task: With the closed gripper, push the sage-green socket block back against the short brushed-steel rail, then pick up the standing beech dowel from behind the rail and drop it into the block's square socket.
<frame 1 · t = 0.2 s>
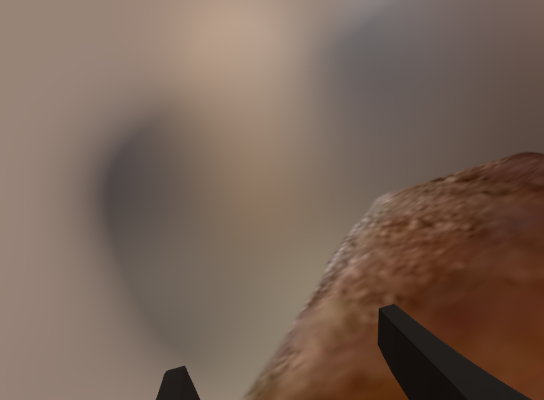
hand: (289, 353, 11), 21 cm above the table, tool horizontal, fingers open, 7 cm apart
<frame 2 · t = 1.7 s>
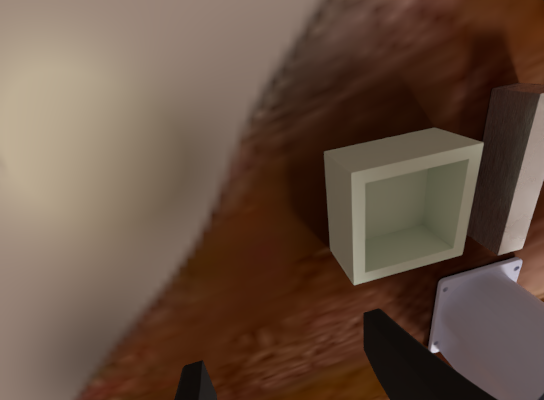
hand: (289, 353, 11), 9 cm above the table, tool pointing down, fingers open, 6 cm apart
rail: (489, 166, 21), on the table
socket block: (377, 191, 20), on the table
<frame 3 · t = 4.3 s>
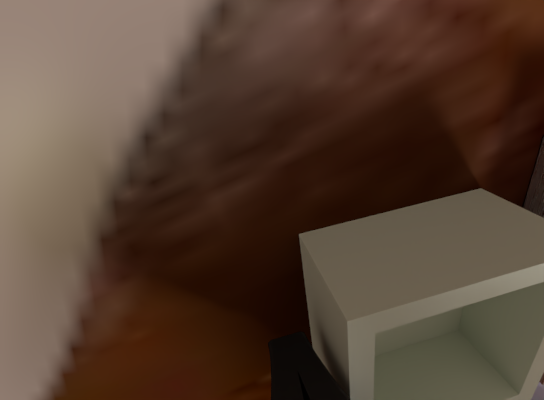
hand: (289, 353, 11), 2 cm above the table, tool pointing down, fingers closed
rail: (529, 246, 14), on the table
socket block: (389, 284, 13), on the table, touching gripper
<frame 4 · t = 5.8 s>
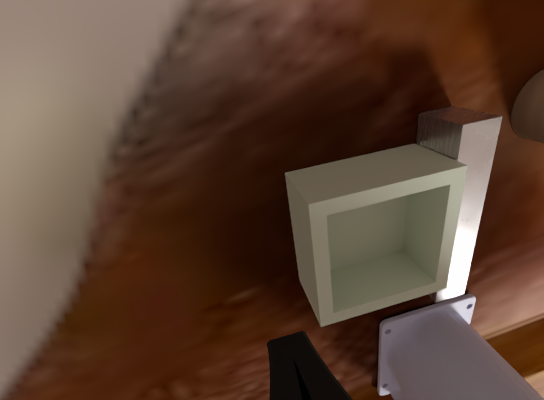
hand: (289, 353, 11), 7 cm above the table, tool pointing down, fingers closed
rail: (425, 199, 18), on the table
dowel: (541, 103, 17), on the table
socket block: (350, 214, 18), on the table
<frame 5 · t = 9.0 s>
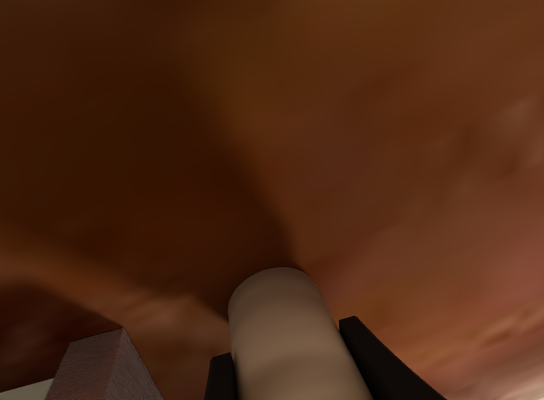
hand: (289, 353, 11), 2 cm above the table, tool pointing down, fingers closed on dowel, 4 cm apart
dowel: (274, 304, 13), on the table, touching gripper
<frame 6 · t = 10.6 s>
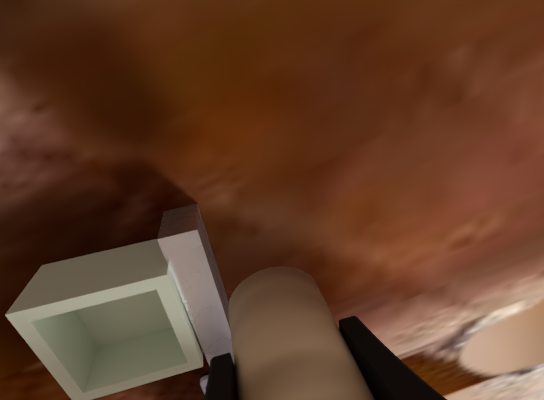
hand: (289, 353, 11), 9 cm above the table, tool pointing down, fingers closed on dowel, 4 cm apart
rail: (204, 277, 20), on the table
dowel: (274, 303, 13), point 7 cm above the table, touching gripper
socket block: (132, 292, 20), on the table
when the fingers open (6 cm above the table, at t = 12.3 s): dowel drops 3 cm, resting on socket block.
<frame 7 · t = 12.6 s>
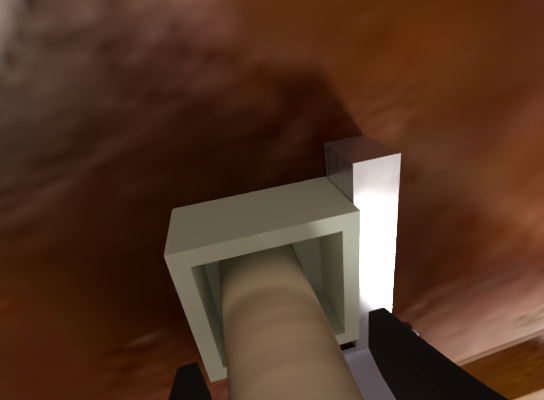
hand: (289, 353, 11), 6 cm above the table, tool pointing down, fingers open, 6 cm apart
rail: (347, 234, 17), on the table
dowel: (258, 264, 15), point 1 cm above the table, touching socket block
socket block: (261, 250, 16), on the table, touching dowel
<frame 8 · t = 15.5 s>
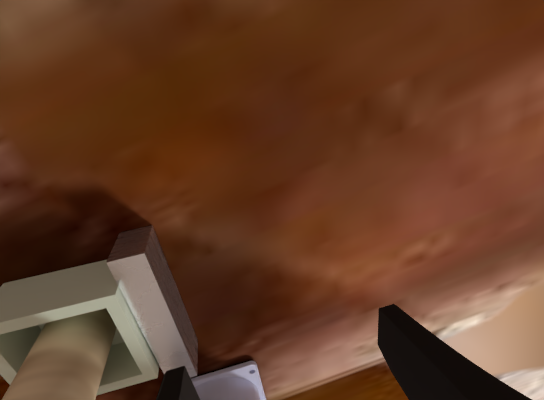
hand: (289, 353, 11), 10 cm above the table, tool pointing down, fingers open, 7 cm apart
rail: (163, 293, 21), on the table
dowel: (85, 319, 20), point 1 cm above the table, touching socket block
socket block: (93, 306, 21), on the table, touching dowel
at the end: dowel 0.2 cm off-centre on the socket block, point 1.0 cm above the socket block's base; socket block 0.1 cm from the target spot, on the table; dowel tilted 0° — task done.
